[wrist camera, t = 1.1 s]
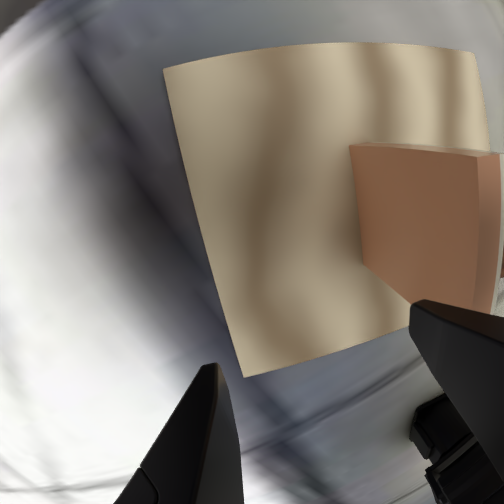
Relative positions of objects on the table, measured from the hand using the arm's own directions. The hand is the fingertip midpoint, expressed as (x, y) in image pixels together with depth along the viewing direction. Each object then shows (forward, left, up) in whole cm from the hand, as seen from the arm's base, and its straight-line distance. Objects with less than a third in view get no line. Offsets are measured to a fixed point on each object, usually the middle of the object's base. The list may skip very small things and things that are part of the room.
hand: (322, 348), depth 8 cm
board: (-8, 0, -12) cm, 14 cm away
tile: (-7, 0, -11) cm, 13 cm away
